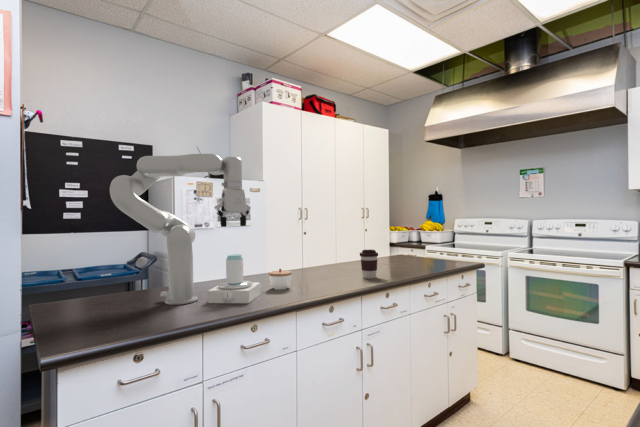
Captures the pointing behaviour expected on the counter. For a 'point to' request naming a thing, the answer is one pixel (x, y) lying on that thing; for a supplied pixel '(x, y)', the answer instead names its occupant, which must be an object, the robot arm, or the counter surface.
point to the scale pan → (237, 286)
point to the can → (234, 269)
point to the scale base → (234, 294)
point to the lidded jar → (280, 279)
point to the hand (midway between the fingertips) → (233, 226)
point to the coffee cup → (369, 263)
